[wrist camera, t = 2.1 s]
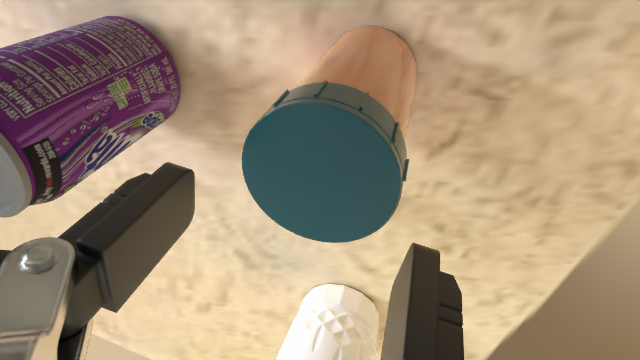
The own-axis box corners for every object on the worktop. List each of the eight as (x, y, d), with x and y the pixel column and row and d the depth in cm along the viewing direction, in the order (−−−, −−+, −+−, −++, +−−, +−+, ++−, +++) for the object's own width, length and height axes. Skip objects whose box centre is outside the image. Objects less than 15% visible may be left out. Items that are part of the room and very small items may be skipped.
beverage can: (127, 126, 29) (-30, 230, 20) (70, 30, 26) (-152, 98, 16) (204, 108, 27) (66, 219, 17) (152, -2, 23) (-57, 59, 14)
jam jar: (335, 15, 21) (259, 83, 13) (430, 40, 20) (418, 130, 12) (318, 102, 24) (247, 205, 16) (400, 126, 24) (373, 247, 15)
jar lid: (269, 62, 14) (247, 81, 12) (429, 108, 13) (426, 133, 11) (256, 188, 17) (236, 215, 15) (382, 229, 16) (375, 261, 15)
